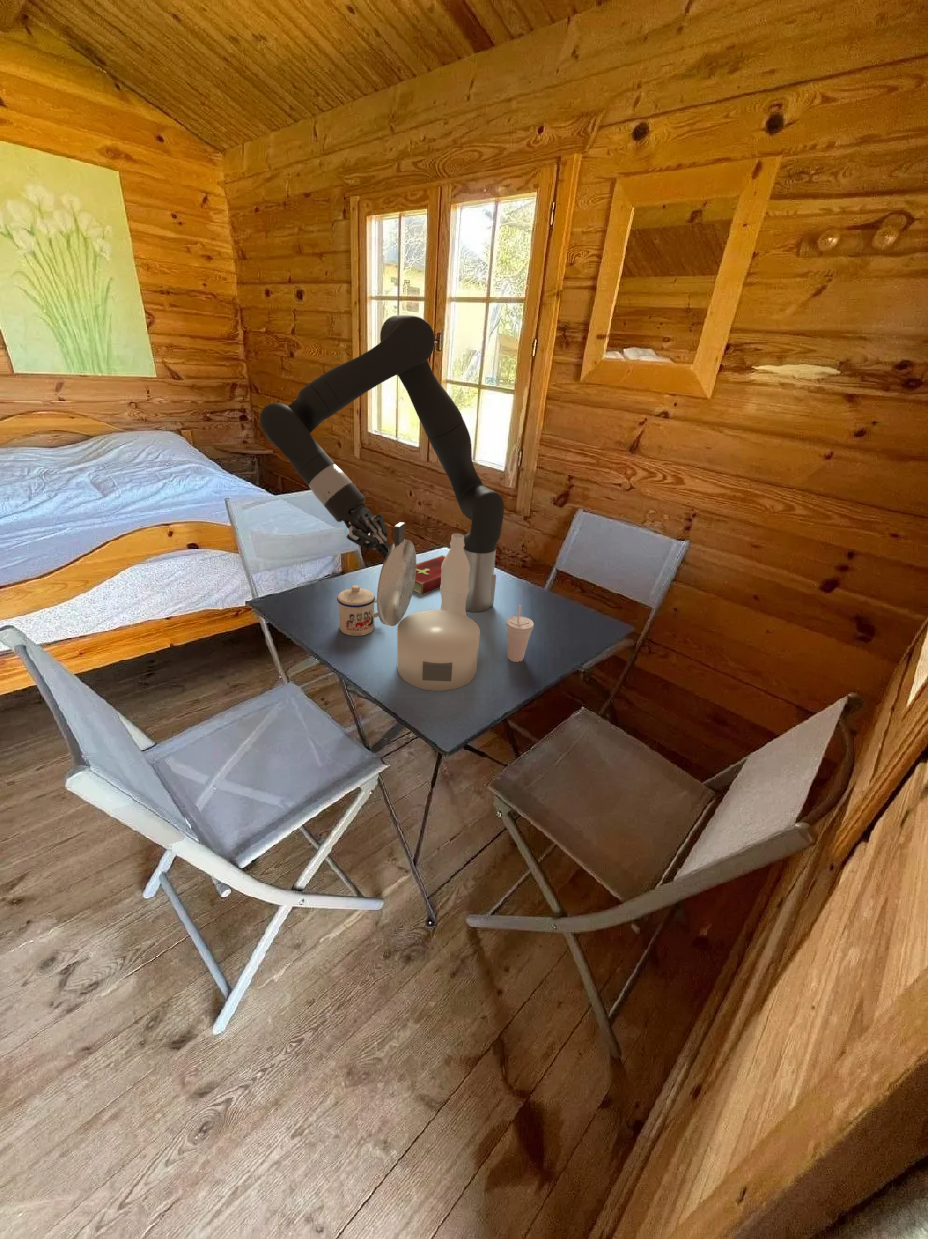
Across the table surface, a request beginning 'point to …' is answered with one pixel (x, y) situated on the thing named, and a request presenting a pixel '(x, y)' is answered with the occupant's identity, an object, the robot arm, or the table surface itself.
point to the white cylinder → (437, 649)
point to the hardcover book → (428, 575)
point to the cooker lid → (396, 579)
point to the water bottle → (455, 577)
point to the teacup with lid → (356, 611)
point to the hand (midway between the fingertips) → (392, 559)
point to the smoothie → (518, 636)
